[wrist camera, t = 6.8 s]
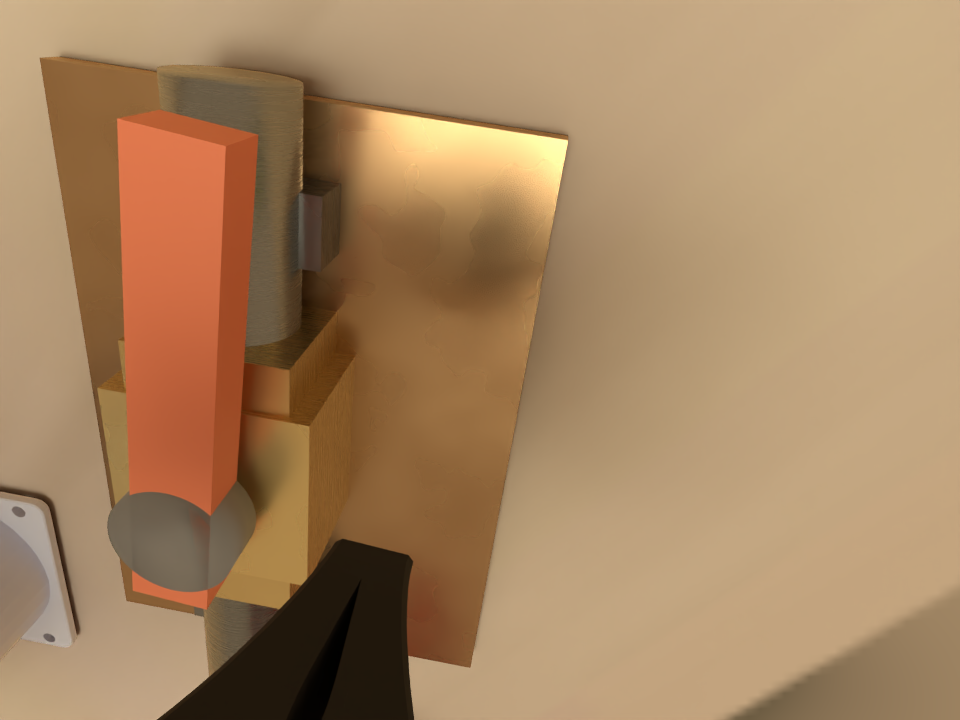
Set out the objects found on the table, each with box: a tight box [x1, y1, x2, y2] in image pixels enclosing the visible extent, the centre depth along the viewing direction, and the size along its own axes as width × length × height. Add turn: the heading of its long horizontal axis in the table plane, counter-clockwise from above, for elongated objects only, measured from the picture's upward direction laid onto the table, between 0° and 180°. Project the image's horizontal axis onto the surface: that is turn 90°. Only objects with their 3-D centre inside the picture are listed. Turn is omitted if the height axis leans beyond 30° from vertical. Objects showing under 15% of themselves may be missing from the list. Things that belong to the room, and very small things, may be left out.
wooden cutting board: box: [40, 57, 568, 677], centre depth 20 cm, size 21×14×5 cm, turn 172°
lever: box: [107, 110, 258, 610], centre depth 15 cm, size 12×3×2 cm, turn 167°
